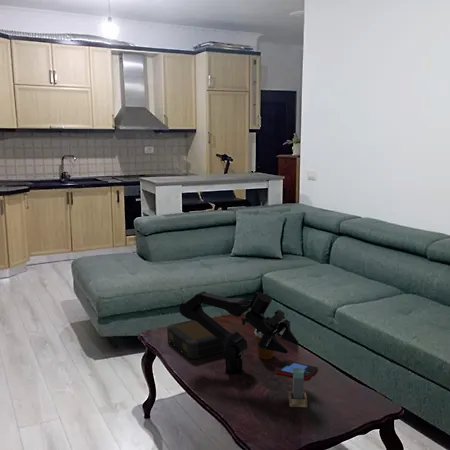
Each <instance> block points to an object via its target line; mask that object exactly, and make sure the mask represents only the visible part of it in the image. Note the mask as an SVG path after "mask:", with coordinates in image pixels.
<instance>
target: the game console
mask: <svg viewBox="0 0 450 450" xmlns="http://www.w3.org/2000/svg"><path fill="white" fill-rule="evenodd" d="M293 368H303V372H304V380H308V379H309V378H311V377H312V376H313V375H314V374H315V373H316V371H318V370H319V369H318V368H319V367H318V366H313V365H309V364H304V363H300V362H297V361H296V362H295V361H292V360H287V359H285V360H284V361H282V362H280V364H279V365H277V366H275V368H274V373H275V374H276V375H280V376H288V377H293Z"/></svg>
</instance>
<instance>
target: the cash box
mask: <svg viewBox="0 0 450 450" xmlns="http://www.w3.org/2000/svg"><path fill="white" fill-rule="evenodd" d="M166 329H167V332H166V333H167V342H168V341H170V342H171V343H172V344H173V345H175V346H176V347H177V348H178V349H179V350H180V351H179V350H178V349H177V348H176V347H175V348H176V349H177V350H178V351H179V352H181V351H182V352H183V353H184V354H185V355H184V354H183V353H182V352H181V353H182V354H183V355H184V356H186V357H187V358H188V357H189V358H191V359H190V360H196V358H197V359H201V358H203V356H205V357H208V356H211V355H215V353H216V354H219V353H223V352H224V351H225V348H224V346H223V343H222V342H221V341H220V340H219V339H218V338H216V337H215V336H214V335H213V334H211V333H210V332H209V331H208V330H206V329H205V328H204V327H203V326H202V325H200V324H199V323H198V322H197V321H194V320H190V319H189V320H187V321H186V320H185V321H181V322H178V323H172V324H169V325H167V326H166ZM170 342H169V343H170ZM171 343H170V344H171ZM172 344H171V345H172ZM173 345H172V346H173ZM200 357H201V358H200ZM189 358H188V359H189Z"/></svg>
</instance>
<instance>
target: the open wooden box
mask: <svg viewBox="0 0 450 450" xmlns="http://www.w3.org/2000/svg"><path fill="white" fill-rule="evenodd" d="M288 404H289V408H308V397H307V391H303V399H293V390H292V391H291V390H290V391H288Z"/></svg>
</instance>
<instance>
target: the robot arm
mask: <svg viewBox="0 0 450 450" xmlns="http://www.w3.org/2000/svg"><path fill="white" fill-rule="evenodd" d="M272 302H273V301H272V297H271V296H270V295H268V294H266V293H264V292H260V291H256V292H254V294H253V297H252V299H251V300H250V299H249V300H248V299H246V298H244V297H234V298H229V297H225V296H221V295H217V294H213V293H210V292H206V291H200V292H198V293H195V295H194V296H193V297H191V298H190V299H188V300H186V301H183V303H180V305H179V313H180V315H181V316H182V317H184V318H186V319H188V320H189V321H190V320H194V321H197V322H198V323H199V324H200V325H202V326H203V327H204V328H205V329H206V330H208V331H209V332H210V333H211V334H213V335H214V336H215V337H216V338H218V339H219V340H220V341H221V342H222V343H223V346H224V348H225V351H223V352H221V356H222V359H223V360H224V361H225V362H224V363H225V368H224V369H225V370H224V374H227V375H228V374H232V375H233V374H235V375H241V374H242V371H243V370H244V359H243V358H244V357H243V358H242V355H243V354H244V353H245V352H246V350H247V349H248V341H247V339H246V338H245V336H243V335H241V334H240V333H239V332H238V331H234V332H233V333H232V332H230V331H229V330H228V329H226V328H224V327H223V326H222V325H221V323H218V322H217V321H216V320H215V319H214V318H212V317H211V316H210V315H208V314H207V313H206V312H205V311H204V309H203V307H202V305H203V304H204V305H207V306H210V307H215V308H219V309H221V310H225V311H226V312H227V313H228V314H230V315H232V316H235V317H236V318H237V317H238V318H239V317H242V316H243V315H244V316H243V317H242V318H241V324H242V326H245V325H246V324H247V323H248V324H249V325H250V326H251V327H253V328H254V329H255V330H256V329H257V330H256V332H257V333H259V332H260V333H262V334H263V335H262V337H261V339H260V341H259V342H258V346H259V348H261V349H262V350H264V349H265V350H272V351H274V352H278V353H282V354H288V353H289V350H288V349H287V348H286V347H284V346H283V345H282V344H281V343H280V342H279V341H278V340H277V336H278V337H280V339H283V340H285V341H287V342H289V343H291V344H293V345H298V344H299V341H298V340H297V338H296V337H295V335H294V334H293V332H292V331H291V321H289V320H288V319H287V318H286V316H285V312H284V311H282V310H281V309H277V310H276V311H274V315H272V316H264V315H263V314H265V313H266V312H267V311H268V308H269V307H270V304H271V303H272ZM275 332H276V333H275Z"/></svg>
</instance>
